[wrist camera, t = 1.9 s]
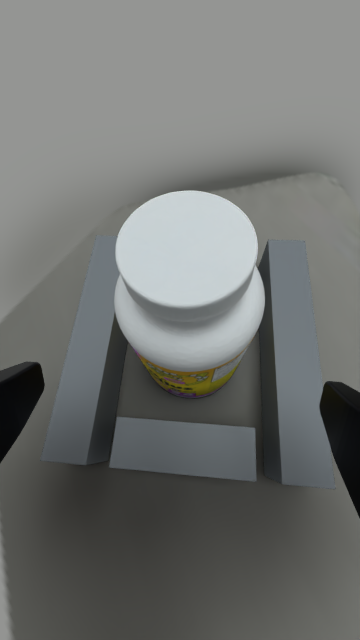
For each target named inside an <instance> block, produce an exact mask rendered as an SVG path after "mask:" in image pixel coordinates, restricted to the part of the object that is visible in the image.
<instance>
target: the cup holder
mask: <svg viewBox="0 0 360 640" xmlns="http://www.w3.org/2000/svg"><path fill="white" fill-rule="evenodd" d="M117 237H118V236H97V235H96V238H95V242H94V246H93V250H92V254H91V258H90V262H89V266H88V270H87V274H86V278H85V282H84V286H83V290H82V294H81V298H80V302H79V306H78V310H77V314H76V318H75V322H74V326H73V330H72V334H71V338H70V342H69V346H68V350H67V354H66V358H65V362H64V366H63V370H62V374H61V379H60V383H59V387H58V391H57V395H56V399H55V403H54V407H53V411H52V415H51V419H50V423H49V427H48V431H47V435H46V439H45V443H44V447H43V451H42V455H41V459H40V461H47V462H58V463H68V464H78V465H89V464H94V463H99V462H104V461H108V458H109V452H110V446H111V440H112V434H113V428H114V422H115V415H116V409H117V403H118V397H119V391H120V385H121V378H122V372H123V366H124V360H125V354H126V348H127V342H128V340H127V339H126V337H125V336H124V334H123V332H122V330H121V329H120V326H119V324H118V321H117V318H116V313H115V306H114V297H115V288H116V284H117V280H118V278H119V275H120V272H119V270H118V267H117V263H116V256H115V250H116V241H117ZM258 271H259V273H260V276H261V279H262V282H263V286H264V292H265V307H264V313H263V317H262V320H261V323H260V326H259V336H260V364H261V392H262V420H263V447H264V475H265V476H267V477H269V478H271V479H273V480H275V481H277V482H279V483H281V484H285V485H295V486H306V487H316V488H326V489H335V482H334V474H333V465H332V457H331V449H330V443H329V440H328V437H327V434H326V430H325V427H324V424H323V420H322V417H321V414H320V409H319V404H320V399H321V395H322V391H323V384H322V376H321V368H320V359H319V351H318V343H317V335H316V327H315V319H314V311H313V302H312V294H311V286H310V278H309V270H308V262H307V253H306V245H305V241H300V240H268V242H267V245H266V248H265V250H264V253H263V256H262V259H261V262H260V265H259V268H258ZM109 468H120V469H130V470H140V471H151V472H161V473H171V474H182V475H192V476H202V477H213V478H223V479H233V480H244V481H254V482H256V444H255V428H251V427H239V426H227V425H214V424H202V423H189V422H177V421H165V420H152V419H140V418H128V417H117V420H116V427H115V433H114V439H113V445H112V452H111V458H110V464H109Z"/></svg>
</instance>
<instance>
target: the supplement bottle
mask: <svg viewBox="0 0 360 640" xmlns="http://www.w3.org/2000/svg"><path fill="white" fill-rule="evenodd" d="M257 254H258V242H257V236H256V233H255V230H254V227H253V225H252V223H251V222H250V220H249V219H248V217H247V216H246V215H245V214H244V212H243V211H241V210H240V209H239V208H238V207H237V206H236V205H234V204H233V203H231V202H230V201H228V200H226V199H224V198H222V197H220V196H217V195H214V194H210V193H206V192H200V191H178V192H171V193H167V194H164V195H161V196H158V197H156V198H153V199H151V200H150V201H148V202H146V203H144V204H143V205H142V206H140V207H139V208H138V209H137V210H135V211H134V212H133V213H132V214H131V215H130V216H129V218H128V219H127V220H126V222H125V223H124V225H123V226H122V228H121V230H120V232H119V234H118V237H117V241H116V250H115V256H116V263H117V267H118V270H119V272H120V275H119V278H118V280H117V284H116V288H115V297H114V306H115V313H116V318H117V321H118V324H119V326H120V329H121V330H122V332H123V334H124V336H125V337H126V339H127V340H128V342H129V343H130V345H131V346H132V348H133V349H134V350H135V352H136V354H137V355H138V357H139V358H140V360H141V361H142V363H143V364H144V366H145V367H146V368H147V370H148V371H149V373H150V374H151V376H152V377H153V378H154V380H155V381H156V382H157V383H158V384H159V385H160V386H161V387H162V388H163V389H165V390H166V391H168V392H170V393H172V394H174V395H177V396H180V397H185V398H199V397H204V396H207V395H210V394H212V393H214V392H216V391H217V390H219V389H220V388H221V387H222V386H224V385H225V384H226V383H227V381H228V380H229V379H230V378H231V377H232V375H233V373H234V372H235V370H236V368H237V366H238V365H239V363H240V361H241V359H242V357H243V355H244V354H245V352H246V350H247V348H248V346H249V345H250V343H251V341H252V340H253V338H254V336H255V334H256V332H257V330H258V328H259V326H260V323H261V320H262V317H263V313H264V307H265V292H264V286H263V282H262V279H261V276H260V273H259V271H258V269H257V267H256V265H255V264H256V260H257Z"/></svg>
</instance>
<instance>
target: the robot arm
mask: <svg viewBox="0 0 360 640" xmlns="http://www.w3.org/2000/svg"><path fill="white" fill-rule="evenodd" d="M44 386H45V384H44V378H43V373H42V368H41V365H40V364H39V363H38V362H24V363H21V364H18V365H15V366H12V367H10V368H7V369H4V370H1V371H0V463H1V461H2V460H3V458H4V457H5V455H6V454H7V453H8V451H9V450H10V448H11V447H12V445H13V444H14V442H15V441H16V439H17V438H18V436H19V434H20V433H21V431H22V429H23V428H24V426H25V424H26V422H27V421H28V419H29V417H30V415H31V413H32V411H33V409H34V408H35V406H36V404H37V402H38V400H39V398H40V396H41V395H42V393H43V390H44ZM319 409H320V414H321V417H322V420H323V424H324V427H325V430H326V434H327V437H328V440H329V443H330V447H331V450H332V453H333V456H334V459H335V461H336V464H337V466H338V469H339V471H340V474H341V476H342V478H343V481H344V483H345V485H346V488H347V490H348V492H349V495H350V497H351V499H352V502H353V504H354V506H355V509H356V511H357V513H358V516H359V518H360V392H358V391H356V390H354V389H353V388H351V387H349V386H347V385H345V384H344V383H342V382H333V381H327V382H326V383H325V384H324V387H323V391H322V395H321V399H320V404H319Z"/></svg>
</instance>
